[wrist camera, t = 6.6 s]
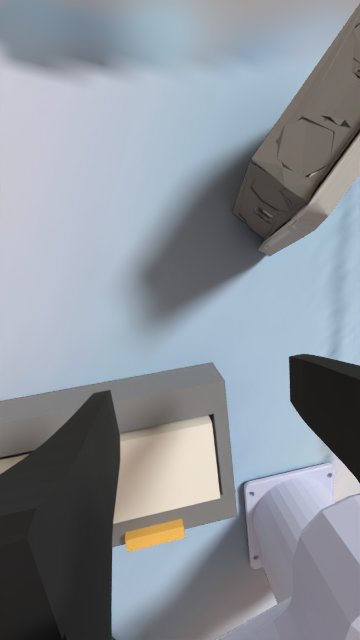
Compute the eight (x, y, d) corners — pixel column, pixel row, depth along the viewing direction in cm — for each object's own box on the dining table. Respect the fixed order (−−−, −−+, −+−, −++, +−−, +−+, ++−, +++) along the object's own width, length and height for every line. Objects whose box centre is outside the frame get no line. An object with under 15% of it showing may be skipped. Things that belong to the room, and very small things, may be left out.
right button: (212, 476, 22) (220, 498, 20) (82, 506, 21) (77, 532, 19) (204, 406, 21) (212, 423, 19) (63, 434, 20) (56, 455, 18)
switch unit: (224, 484, 25) (240, 523, 21) (-76, 554, 22) (-115, 612, 18) (212, 362, 22) (227, 385, 18) (-137, 426, 19) (-196, 466, 16)
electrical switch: (264, 259, 20) (352, 256, 11) (205, 212, 20) (247, 168, 10) (352, 140, 19) (525, 32, 10) (293, 85, 19) (426, -86, 9)
